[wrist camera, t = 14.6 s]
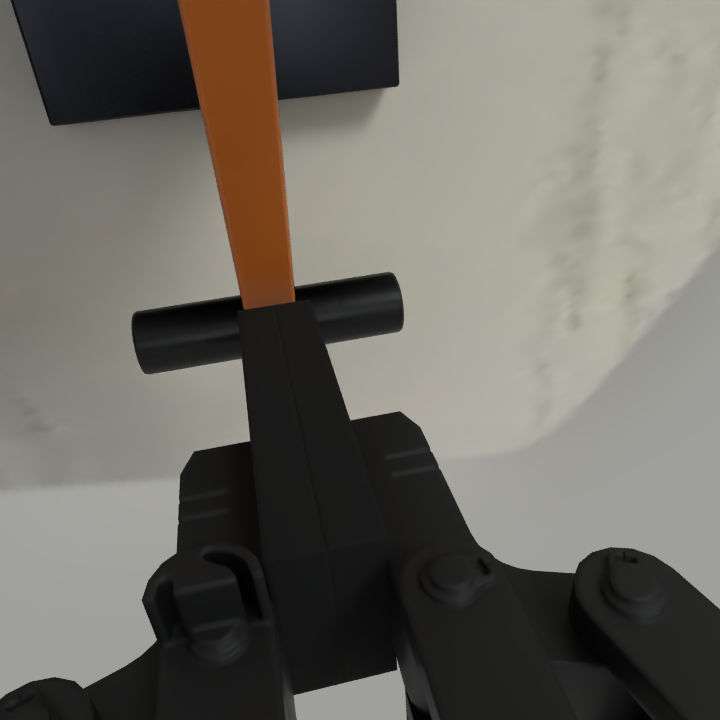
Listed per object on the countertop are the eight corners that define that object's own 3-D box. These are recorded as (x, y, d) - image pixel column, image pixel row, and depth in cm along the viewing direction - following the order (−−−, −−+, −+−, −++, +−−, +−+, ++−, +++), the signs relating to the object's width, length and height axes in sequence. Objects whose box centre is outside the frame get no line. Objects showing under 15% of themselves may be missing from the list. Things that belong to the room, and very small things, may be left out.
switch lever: (382, 280, 16) (406, 359, 15) (144, 317, 16) (150, 404, 14) (499, -736, 5) (628, -725, 4) (-376, -802, 4) (-550, -814, 3)
